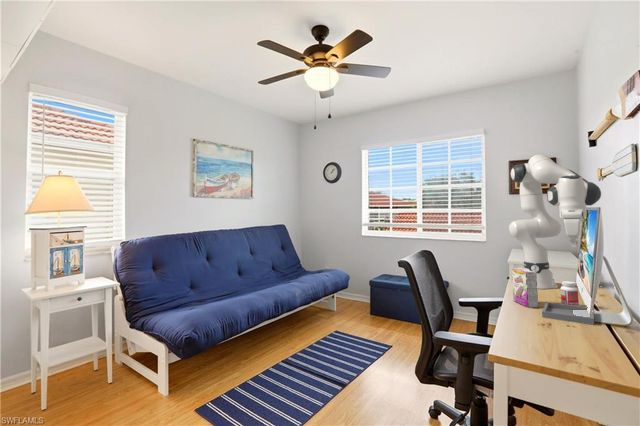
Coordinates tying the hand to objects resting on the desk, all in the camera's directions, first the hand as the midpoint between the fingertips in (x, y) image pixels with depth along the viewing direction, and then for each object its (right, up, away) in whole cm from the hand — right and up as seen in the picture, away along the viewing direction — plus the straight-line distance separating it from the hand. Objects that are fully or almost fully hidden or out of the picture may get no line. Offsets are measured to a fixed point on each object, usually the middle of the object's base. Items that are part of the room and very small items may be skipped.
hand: (574, 245), depth 128 cm
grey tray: (-4, -29, -1) cm, 29 cm away
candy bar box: (-10, -30, +15) cm, 35 cm away
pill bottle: (+6, -29, +10) cm, 31 cm away
